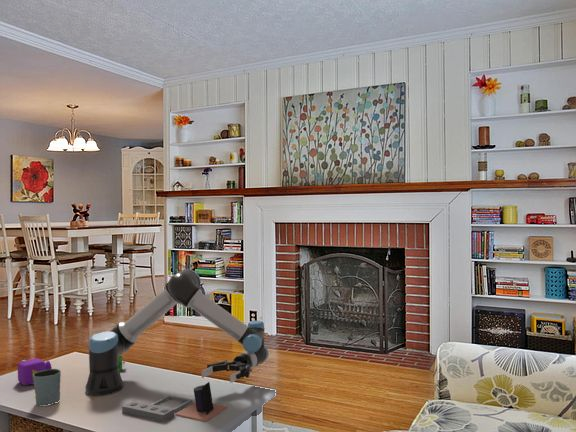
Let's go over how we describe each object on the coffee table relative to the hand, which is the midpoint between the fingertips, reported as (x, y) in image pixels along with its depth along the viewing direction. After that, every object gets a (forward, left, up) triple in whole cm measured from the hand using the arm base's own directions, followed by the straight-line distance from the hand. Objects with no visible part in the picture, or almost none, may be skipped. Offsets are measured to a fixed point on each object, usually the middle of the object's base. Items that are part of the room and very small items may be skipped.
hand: (216, 376), depth 194 cm
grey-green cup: (-63, -28, -10) cm, 69 cm away
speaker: (+1, -10, -10) cm, 14 cm away
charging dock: (-17, -14, -10) cm, 24 cm away
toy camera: (-91, -13, -10) cm, 92 cm away
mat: (0, -10, -10) cm, 14 cm away
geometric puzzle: (-68, +14, -10) cm, 70 cm away
